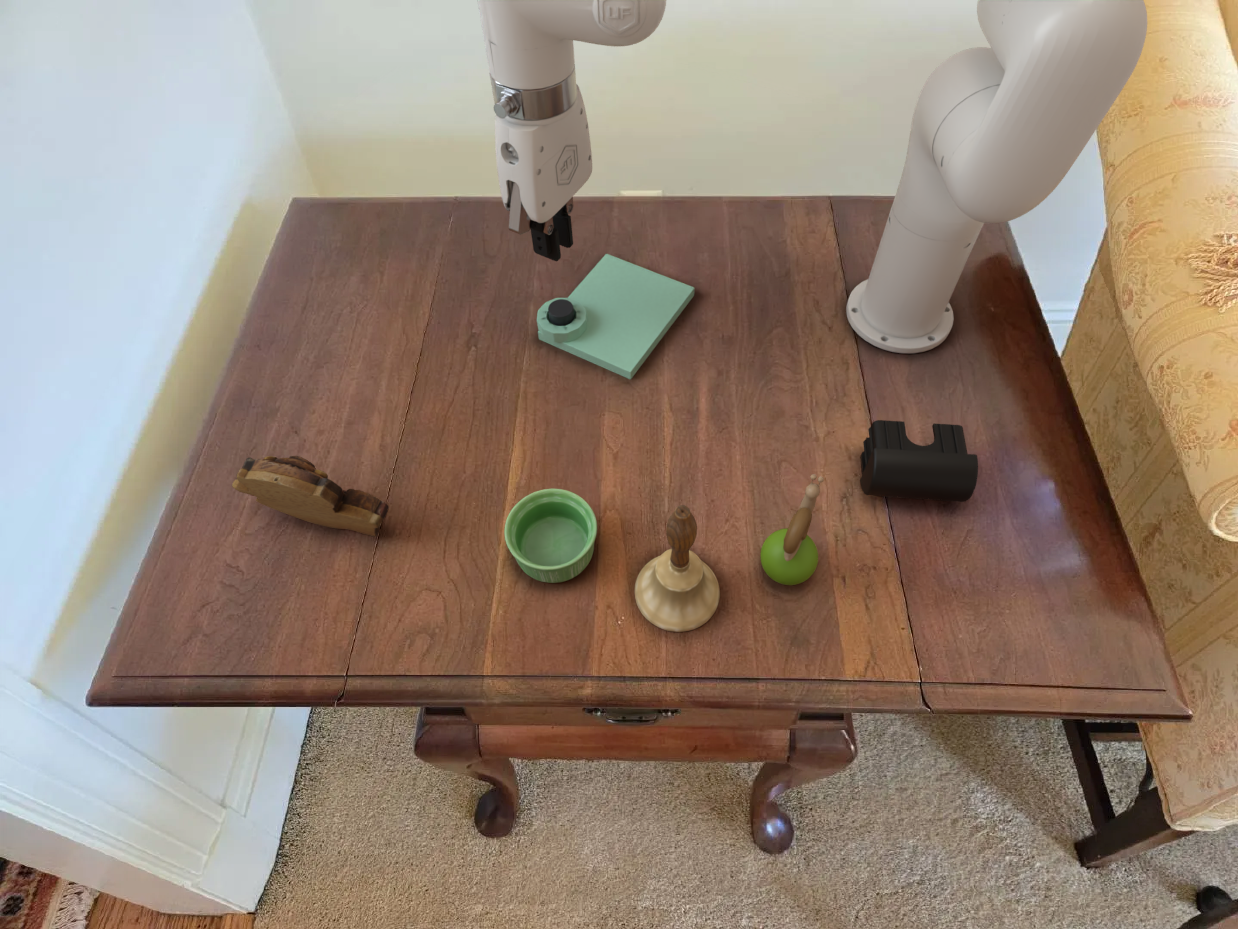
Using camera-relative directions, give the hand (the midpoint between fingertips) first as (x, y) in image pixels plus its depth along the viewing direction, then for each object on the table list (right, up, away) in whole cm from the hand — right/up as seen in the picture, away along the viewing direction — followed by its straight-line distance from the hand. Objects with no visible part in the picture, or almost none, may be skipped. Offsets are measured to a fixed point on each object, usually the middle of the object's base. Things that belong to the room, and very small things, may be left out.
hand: (553, 248), depth 84 cm
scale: (+7, -5, +12) cm, 15 cm away
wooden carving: (-24, -29, -3) cm, 38 cm away
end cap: (+37, -26, -2) cm, 45 cm away
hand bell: (+13, -36, -9) cm, 39 cm away
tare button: (0, -6, +9) cm, 11 cm away
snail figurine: (+24, -34, -7) cm, 42 cm away
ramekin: (+1, -32, -6) cm, 33 cm away
